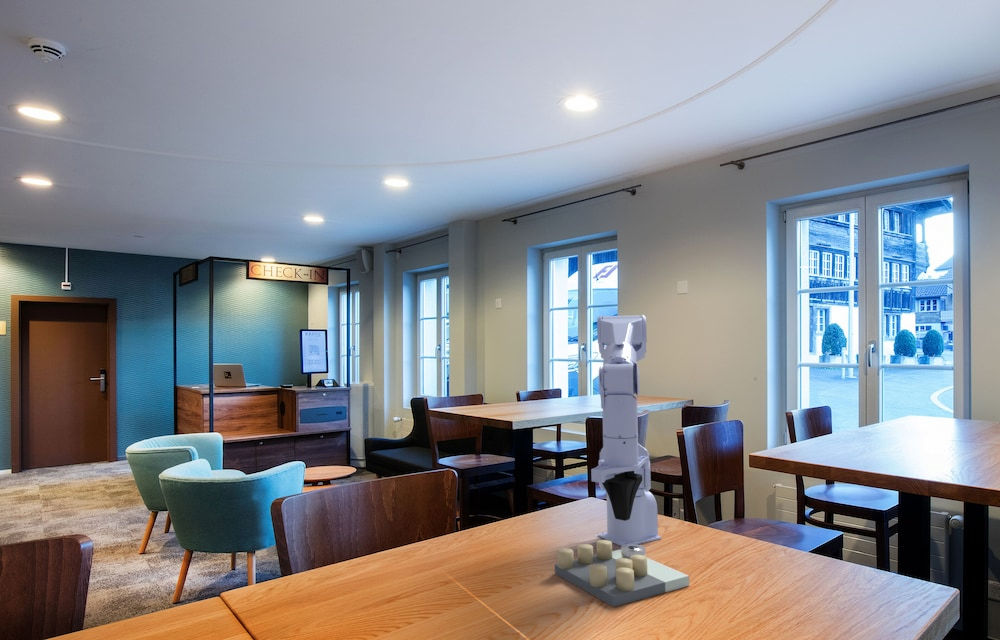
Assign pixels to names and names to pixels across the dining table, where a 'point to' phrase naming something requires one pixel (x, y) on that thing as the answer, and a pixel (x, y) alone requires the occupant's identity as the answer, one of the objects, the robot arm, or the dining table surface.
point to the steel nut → (632, 550)
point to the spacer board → (611, 590)
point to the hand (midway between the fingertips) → (622, 518)
